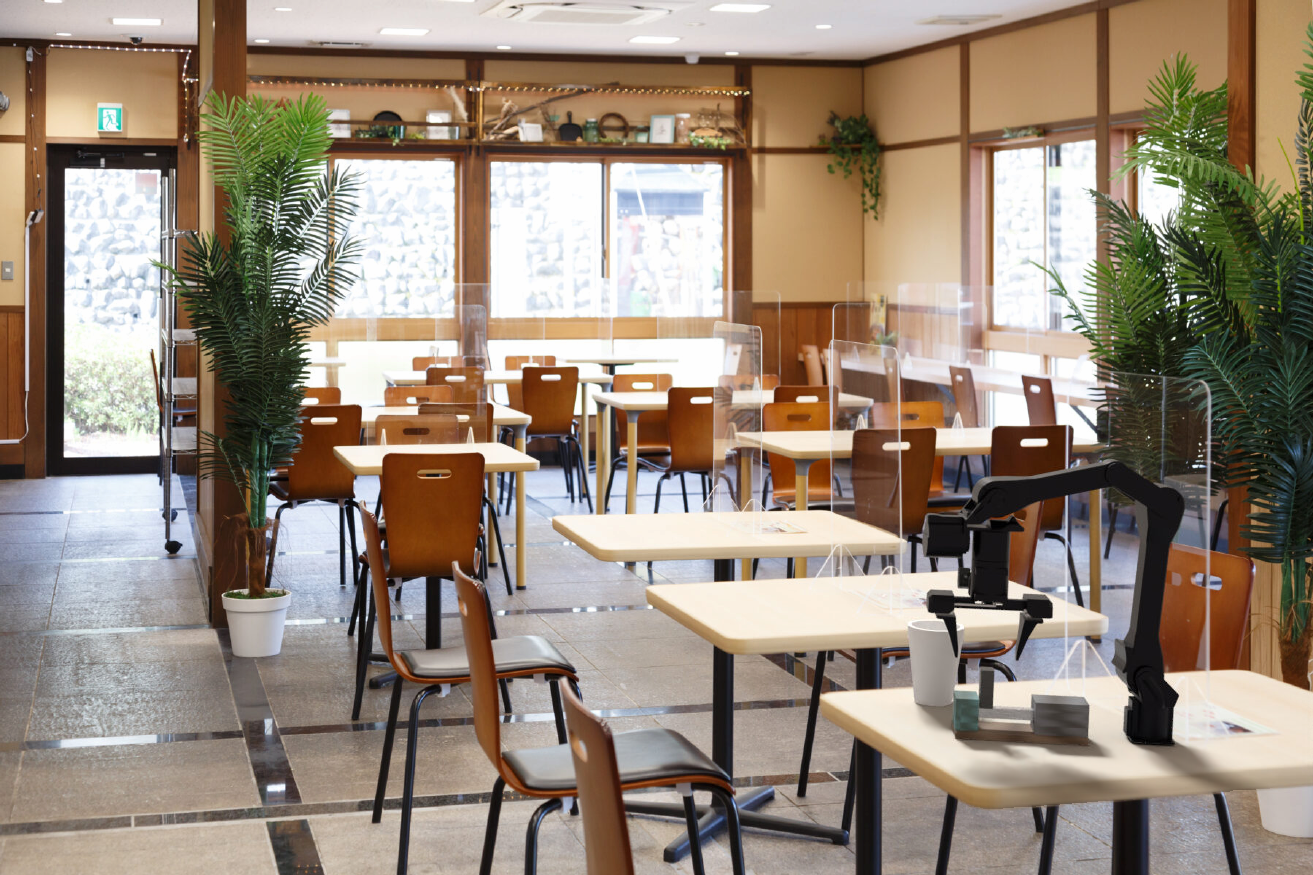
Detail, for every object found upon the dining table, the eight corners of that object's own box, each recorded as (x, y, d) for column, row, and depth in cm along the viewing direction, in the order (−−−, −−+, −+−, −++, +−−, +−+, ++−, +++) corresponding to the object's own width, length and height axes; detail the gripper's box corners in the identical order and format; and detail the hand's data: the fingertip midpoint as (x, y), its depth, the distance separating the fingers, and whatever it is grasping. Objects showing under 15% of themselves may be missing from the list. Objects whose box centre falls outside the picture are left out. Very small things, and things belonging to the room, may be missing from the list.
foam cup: (971, 706, 239) (974, 630, 237) (921, 710, 236) (923, 632, 235) (944, 692, 248) (947, 618, 247) (895, 695, 245) (898, 620, 244)
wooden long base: (1081, 732, 225) (1082, 695, 224) (1088, 745, 218) (1090, 707, 217) (951, 725, 227) (953, 688, 227) (955, 738, 220) (956, 700, 220)
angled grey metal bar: (1043, 717, 223) (1046, 669, 222) (1046, 721, 221) (1048, 673, 220) (960, 713, 225) (962, 665, 224) (961, 717, 222) (963, 669, 222)
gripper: (1045, 553, 228) (1040, 649, 229) (926, 548, 230) (922, 643, 231) (1055, 565, 217) (1050, 666, 218) (930, 559, 219) (926, 660, 220)
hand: (986, 658), depth 222 cm, fingers open, 9 cm apart
